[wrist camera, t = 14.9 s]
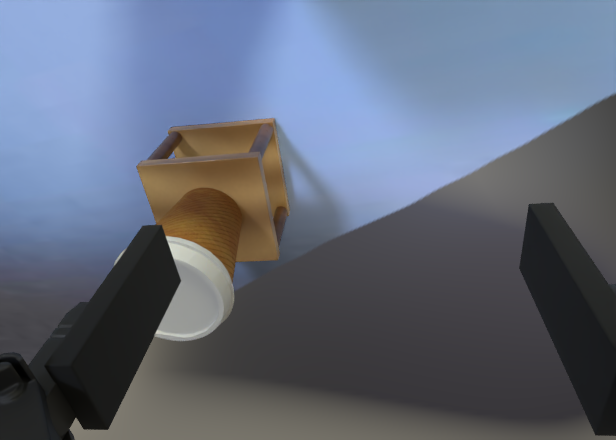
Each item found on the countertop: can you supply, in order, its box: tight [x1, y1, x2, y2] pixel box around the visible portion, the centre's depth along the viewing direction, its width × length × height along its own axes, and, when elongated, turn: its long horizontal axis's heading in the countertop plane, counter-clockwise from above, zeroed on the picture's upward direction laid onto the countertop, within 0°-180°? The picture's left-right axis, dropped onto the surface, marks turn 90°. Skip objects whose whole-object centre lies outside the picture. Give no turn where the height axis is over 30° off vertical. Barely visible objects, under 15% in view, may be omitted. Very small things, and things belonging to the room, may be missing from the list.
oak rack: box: [136, 118, 290, 262], centre depth 49 cm, size 12×12×10 cm
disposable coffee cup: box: [114, 188, 242, 341], centre depth 40 cm, size 10×10×12 cm
